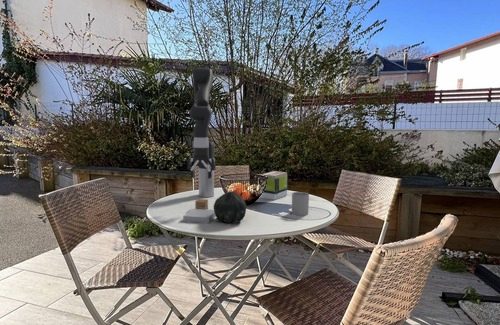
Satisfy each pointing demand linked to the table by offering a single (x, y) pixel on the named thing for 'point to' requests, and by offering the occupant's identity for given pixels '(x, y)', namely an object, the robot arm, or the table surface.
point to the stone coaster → (199, 216)
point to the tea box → (275, 185)
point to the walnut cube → (201, 204)
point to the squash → (230, 207)
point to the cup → (300, 203)
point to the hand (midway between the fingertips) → (201, 178)
